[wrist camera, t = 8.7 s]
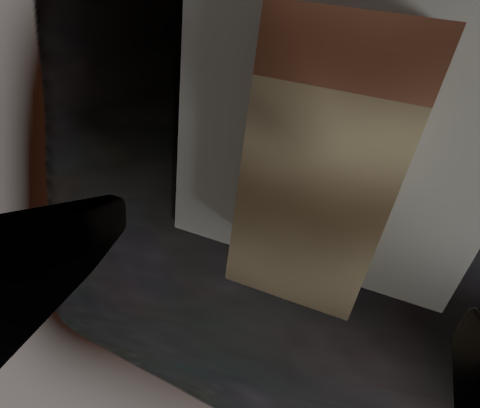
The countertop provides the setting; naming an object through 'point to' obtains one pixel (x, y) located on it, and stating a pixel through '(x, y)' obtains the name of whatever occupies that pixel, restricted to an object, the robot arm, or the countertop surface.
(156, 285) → the countertop surface
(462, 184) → the grey mat
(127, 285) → the countertop surface
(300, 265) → the beige and brown block
